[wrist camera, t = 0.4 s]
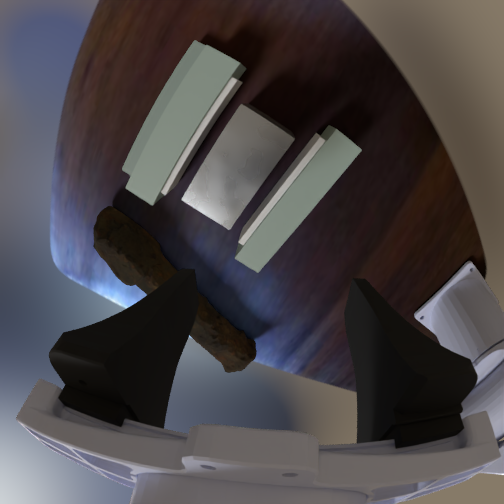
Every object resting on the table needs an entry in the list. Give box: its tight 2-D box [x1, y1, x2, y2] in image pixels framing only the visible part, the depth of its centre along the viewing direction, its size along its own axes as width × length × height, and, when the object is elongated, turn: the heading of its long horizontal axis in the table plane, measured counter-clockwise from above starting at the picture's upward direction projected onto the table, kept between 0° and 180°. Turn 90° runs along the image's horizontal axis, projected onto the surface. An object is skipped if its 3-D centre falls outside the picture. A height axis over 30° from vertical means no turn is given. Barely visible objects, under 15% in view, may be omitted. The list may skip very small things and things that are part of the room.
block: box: [182, 104, 295, 230], centre depth 18 cm, size 4×7×4 cm, turn 147°
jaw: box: [235, 125, 361, 273], centre depth 19 cm, size 2×11×3 cm, turn 146°
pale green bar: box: [122, 40, 246, 206], centre depth 17 cm, size 4×11×3 cm, turn 146°
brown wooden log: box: [93, 206, 256, 373], centre depth 24 cm, size 19×4×5 cm, turn 35°
